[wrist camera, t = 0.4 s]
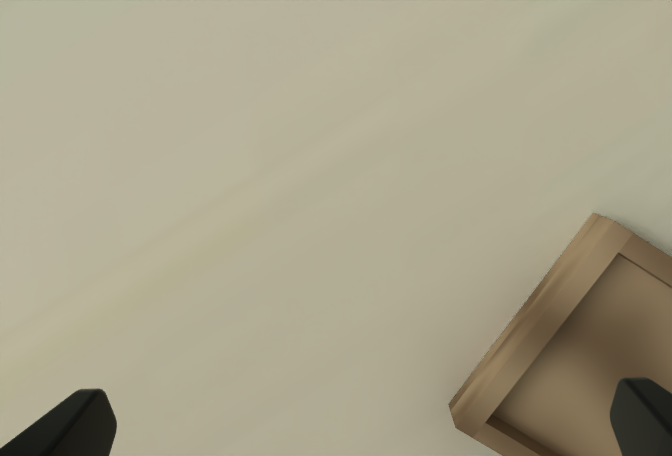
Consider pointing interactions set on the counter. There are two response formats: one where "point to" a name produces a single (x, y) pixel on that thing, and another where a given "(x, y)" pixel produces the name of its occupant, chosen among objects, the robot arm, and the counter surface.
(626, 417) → the robot arm
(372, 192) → the counter surface
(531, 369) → the tray
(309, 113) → the counter surface
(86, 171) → the counter surface
